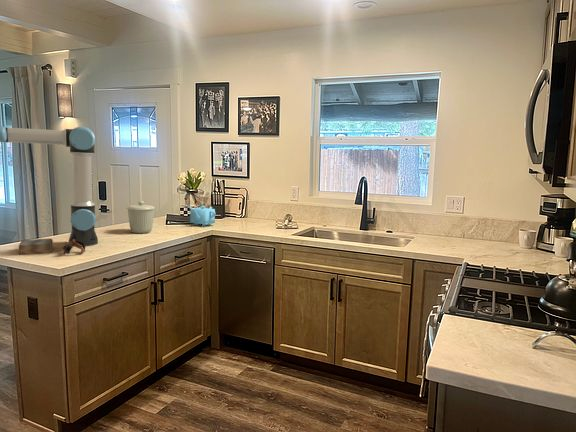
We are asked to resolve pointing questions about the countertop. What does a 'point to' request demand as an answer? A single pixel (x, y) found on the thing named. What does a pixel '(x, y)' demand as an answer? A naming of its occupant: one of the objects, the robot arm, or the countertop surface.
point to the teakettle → (202, 215)
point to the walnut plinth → (35, 246)
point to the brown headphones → (76, 244)
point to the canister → (141, 217)
